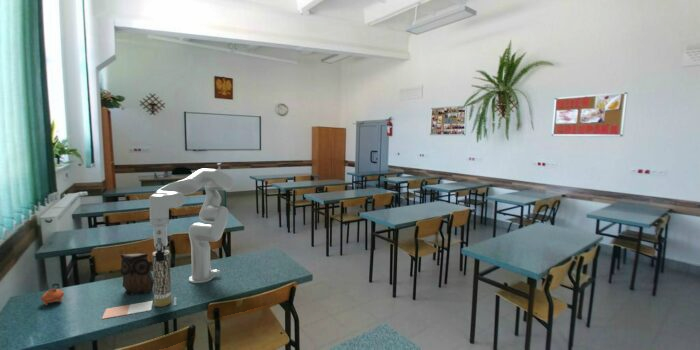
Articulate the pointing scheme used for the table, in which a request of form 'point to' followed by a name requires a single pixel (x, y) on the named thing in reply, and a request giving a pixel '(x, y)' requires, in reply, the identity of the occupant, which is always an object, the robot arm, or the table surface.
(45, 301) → the pot
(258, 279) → the table surface
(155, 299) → the birch log
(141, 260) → the brown owl figurine
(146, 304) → the board
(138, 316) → the table surface
